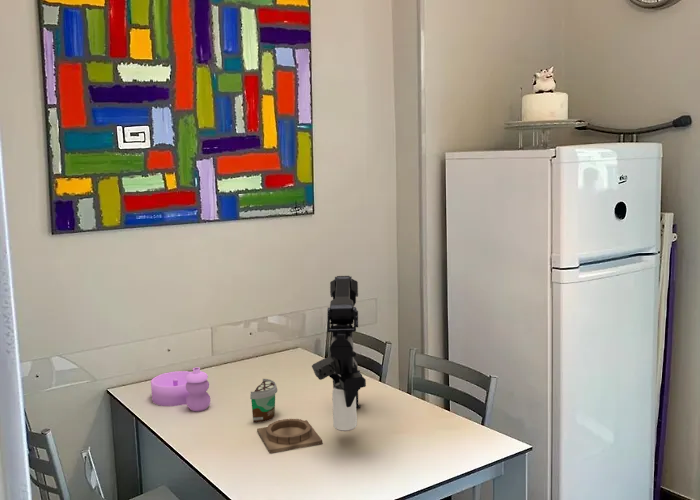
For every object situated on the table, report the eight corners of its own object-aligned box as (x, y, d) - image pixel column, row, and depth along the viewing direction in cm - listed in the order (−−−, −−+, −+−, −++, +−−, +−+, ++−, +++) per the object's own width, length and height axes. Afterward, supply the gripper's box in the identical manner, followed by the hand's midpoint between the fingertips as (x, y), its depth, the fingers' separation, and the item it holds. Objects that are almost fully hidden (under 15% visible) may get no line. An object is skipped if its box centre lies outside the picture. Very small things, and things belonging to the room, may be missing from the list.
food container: (271, 425, 208) (270, 393, 206) (251, 424, 209) (250, 392, 208) (283, 409, 220) (282, 378, 218) (264, 408, 221) (263, 377, 219)
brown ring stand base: (306, 423, 209) (306, 413, 208) (322, 443, 195) (322, 433, 195) (257, 431, 204) (256, 422, 203) (269, 453, 190) (269, 443, 190)
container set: (143, 398, 233) (140, 359, 230) (184, 385, 243) (181, 348, 241) (183, 418, 215) (181, 377, 213) (225, 404, 225) (223, 365, 223)
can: (359, 423, 198) (358, 382, 196) (352, 432, 192) (351, 390, 190) (338, 420, 200) (336, 380, 198) (330, 430, 194) (328, 388, 192)
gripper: (304, 342, 198) (306, 395, 201) (325, 362, 181) (327, 419, 183) (341, 337, 202) (343, 389, 205) (365, 356, 185) (367, 413, 187)
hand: (344, 402), depth 195 cm, fingers closed on can, 6 cm apart
